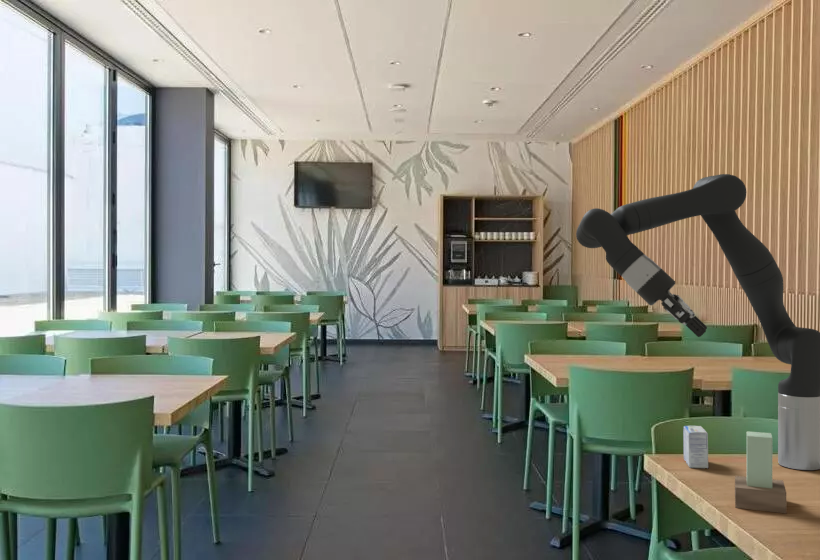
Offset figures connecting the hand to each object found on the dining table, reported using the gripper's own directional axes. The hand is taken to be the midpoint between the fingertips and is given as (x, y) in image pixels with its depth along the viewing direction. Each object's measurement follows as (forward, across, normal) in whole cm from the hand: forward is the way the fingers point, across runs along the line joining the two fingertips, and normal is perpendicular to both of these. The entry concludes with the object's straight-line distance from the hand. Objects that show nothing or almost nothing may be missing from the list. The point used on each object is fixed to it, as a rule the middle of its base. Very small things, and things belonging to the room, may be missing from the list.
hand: (703, 332), depth 156 cm
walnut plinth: (+31, -7, +16) cm, 36 cm away
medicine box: (+22, +20, +26) cm, 39 cm away
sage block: (+28, -7, +14) cm, 32 cm away
